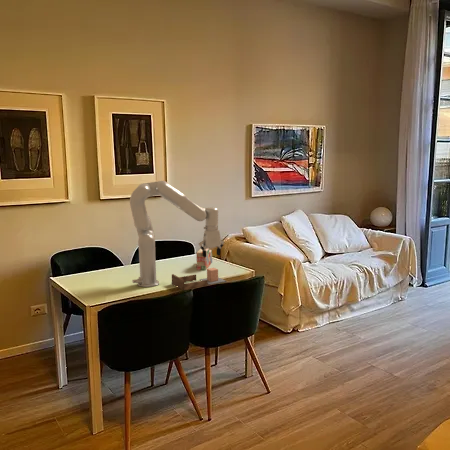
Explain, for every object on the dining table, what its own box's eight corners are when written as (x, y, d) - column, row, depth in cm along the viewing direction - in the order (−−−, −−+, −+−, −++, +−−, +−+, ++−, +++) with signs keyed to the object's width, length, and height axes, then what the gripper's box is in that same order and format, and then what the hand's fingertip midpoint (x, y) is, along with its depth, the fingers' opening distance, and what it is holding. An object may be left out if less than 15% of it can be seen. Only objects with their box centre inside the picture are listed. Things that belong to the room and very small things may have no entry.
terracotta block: (211, 281, 279) (210, 270, 278) (207, 279, 284) (206, 268, 283) (218, 280, 282) (218, 269, 281) (214, 278, 286) (213, 267, 285)
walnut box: (182, 290, 264) (182, 280, 263) (171, 284, 277) (171, 274, 276) (207, 285, 273) (207, 276, 272) (195, 279, 285) (195, 270, 284)
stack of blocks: (203, 262, 329) (203, 245, 327) (212, 262, 328) (212, 245, 326) (196, 270, 309) (196, 252, 307) (205, 270, 308) (205, 252, 306)
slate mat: (209, 284, 275) (209, 284, 275) (199, 280, 285) (199, 279, 285) (226, 281, 281) (226, 280, 281) (216, 277, 291) (216, 276, 291)
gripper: (202, 230, 270) (201, 258, 273) (227, 228, 279) (226, 255, 282) (196, 228, 276) (196, 256, 279) (220, 226, 285) (220, 253, 288)
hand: (211, 255), depth 280 cm, fingers open, 9 cm apart
